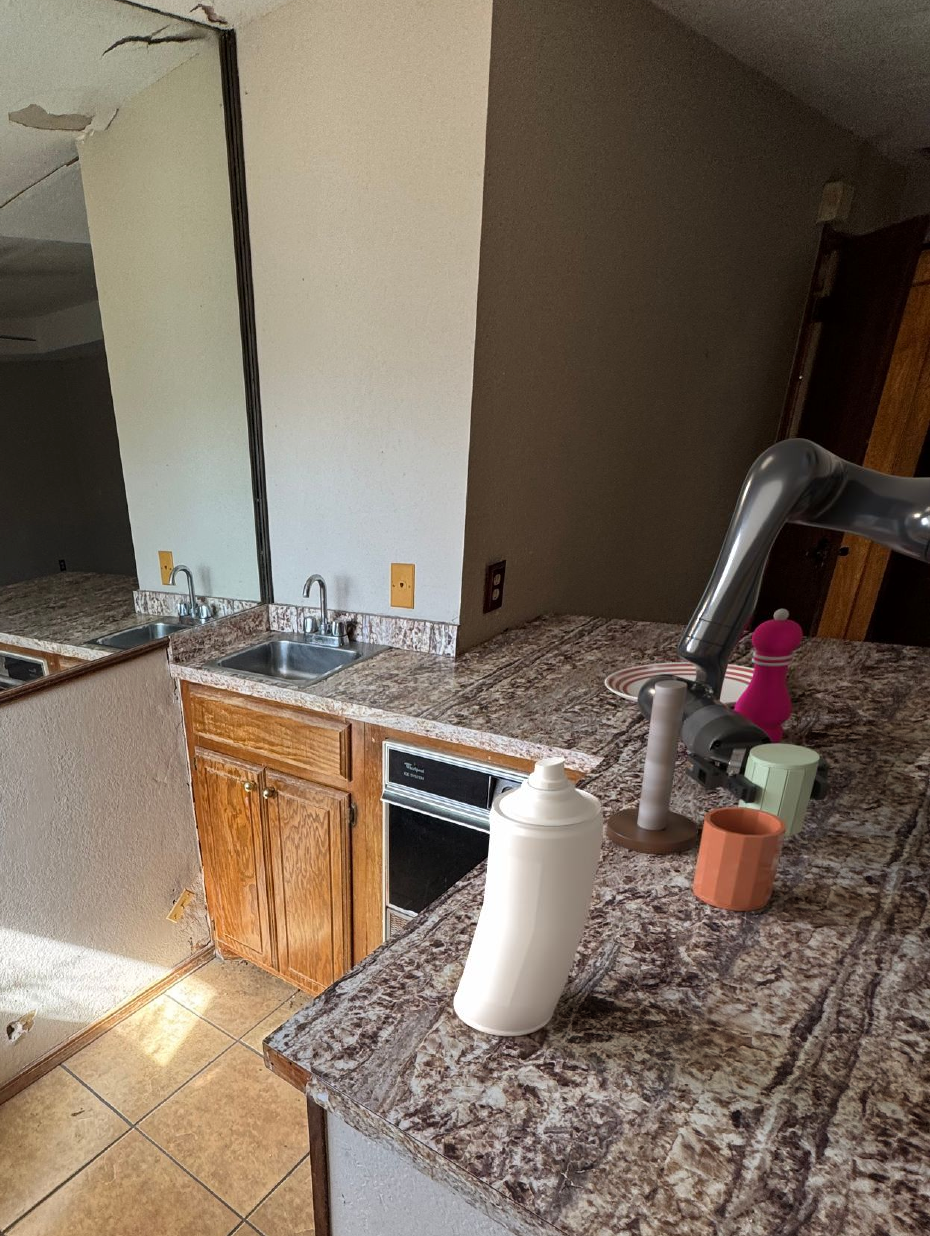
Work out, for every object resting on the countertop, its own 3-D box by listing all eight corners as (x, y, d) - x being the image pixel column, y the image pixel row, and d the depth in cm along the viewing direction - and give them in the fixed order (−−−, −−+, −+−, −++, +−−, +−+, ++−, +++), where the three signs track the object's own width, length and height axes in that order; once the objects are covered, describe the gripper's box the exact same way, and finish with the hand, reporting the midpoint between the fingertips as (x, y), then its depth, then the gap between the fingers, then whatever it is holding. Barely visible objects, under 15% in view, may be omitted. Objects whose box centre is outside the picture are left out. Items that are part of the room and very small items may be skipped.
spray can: (489, 952, 78) (496, 730, 67) (596, 986, 71) (625, 745, 60) (439, 1015, 71) (438, 777, 60) (553, 1060, 64) (577, 800, 53)
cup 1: (762, 806, 91) (776, 739, 87) (815, 826, 86) (834, 755, 82) (722, 820, 90) (736, 752, 86) (775, 841, 84) (792, 769, 80)
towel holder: (647, 811, 100) (666, 667, 91) (715, 839, 91) (744, 683, 83) (588, 830, 98) (603, 684, 89) (653, 862, 89) (676, 703, 80)
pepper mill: (773, 749, 112) (801, 616, 103) (720, 740, 117) (743, 612, 108) (793, 735, 115) (822, 605, 106) (741, 726, 120) (764, 602, 112)
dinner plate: (596, 677, 152) (597, 661, 150) (754, 672, 142) (758, 655, 141) (612, 723, 129) (614, 705, 128) (801, 720, 119) (806, 701, 118)
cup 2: (723, 870, 85) (736, 801, 81) (785, 899, 79) (803, 825, 75) (676, 888, 84) (688, 817, 80) (737, 918, 77) (752, 843, 74)
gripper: (667, 718, 98) (722, 767, 83) (791, 709, 95) (870, 760, 80) (660, 769, 101) (711, 826, 87) (779, 763, 98) (852, 821, 84)
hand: (787, 794), depth 83 cm, fingers closed on cup 1, 6 cm apart
